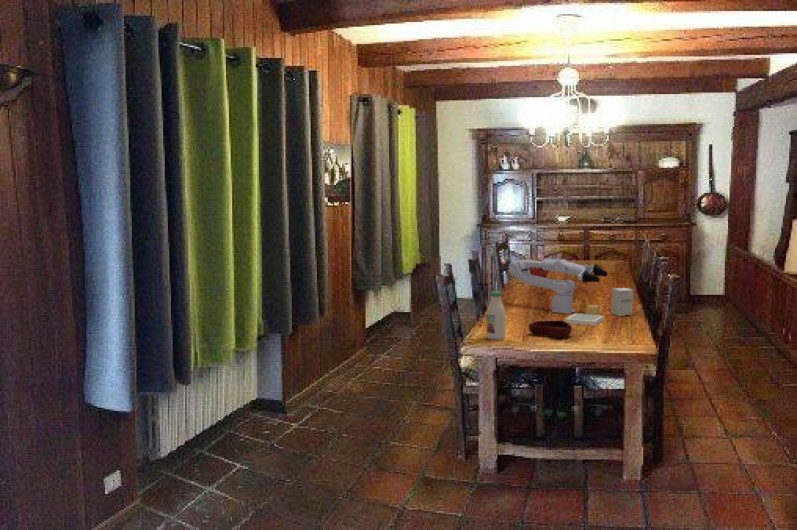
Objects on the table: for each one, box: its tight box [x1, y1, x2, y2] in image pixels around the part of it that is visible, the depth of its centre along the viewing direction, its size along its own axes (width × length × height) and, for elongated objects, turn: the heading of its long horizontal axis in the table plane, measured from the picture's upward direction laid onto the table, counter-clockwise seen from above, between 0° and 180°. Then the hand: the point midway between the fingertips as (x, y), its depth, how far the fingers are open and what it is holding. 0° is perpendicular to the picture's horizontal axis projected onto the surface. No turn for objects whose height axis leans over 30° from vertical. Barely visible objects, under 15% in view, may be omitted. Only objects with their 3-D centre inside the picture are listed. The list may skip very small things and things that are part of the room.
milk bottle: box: [486, 290, 506, 341], centre depth 306 cm, size 8×8×20 cm
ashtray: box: [528, 320, 572, 340], centre depth 311 cm, size 18×16×5 cm
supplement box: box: [610, 287, 634, 317], centre depth 346 cm, size 7×7×13 cm
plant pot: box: [529, 259, 549, 278], centre depth 453 cm, size 13×13×12 cm
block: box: [585, 304, 601, 316], centre depth 344 cm, size 5×5×5 cm
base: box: [564, 312, 605, 327], centre depth 334 cm, size 14×14×2 cm
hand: (602, 277), depth 340 cm, fingers open, 7 cm apart
